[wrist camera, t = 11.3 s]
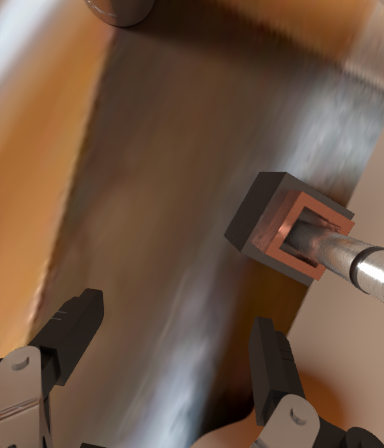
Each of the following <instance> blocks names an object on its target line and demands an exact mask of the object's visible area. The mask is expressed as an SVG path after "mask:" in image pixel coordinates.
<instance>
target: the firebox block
mask: <svg viewBox="0 0 384 448" xmlns="http://www.w3.org/2000/svg"><path fill="white" fill-rule="evenodd" d="M353 216H354V213H352V212H351V211H349V210H347V209H346V208H344V207H343V206H341V205H339V204H338V203H336V202H334V201H333V200H331V199H330V198H328V197H326V196H325V195H323V194H321V193H320V192H318V191H317V190H315V189H313V188H312V187H310V186H308V185H307V184H305V183H304V182H302V181H300V180H299V179H297V178H295V177H294V176H292V175H291V174H289V173H287V172H259V174H258V176H257V178H256V179H255V181H254V183H253V185H252V186H251V188H250V190H249V192H248V194H247V195H246V197H245V199H244V201H243V202H242V204H241V206H240V208H239V210H238V211H237V213H236V215H235V217H234V218H233V220H232V222H231V224H230V225H229V227H228V229H227V231H226V233H225V234H224V236H225V237H226V238H227V239H228V240H229V241H230V242H231V243H232V244H233V245H234V246H235V247H236V248H237V249H238V250H239V251H240V252H241V253H243V254H245V255H247V256H249V257H251V258H253V259H255V260H257V261H259V262H261V263H263V264H265V265H267V266H269V267H271V268H273V269H275V270H277V271H279V272H281V273H283V274H285V275H287V276H289V277H291V278H293V279H295V280H297V281H299V282H301V283H303V284H305V285H307V286H310V284H311V282H312V281H313V279H316V280H318V281H319V279H320V277H321V276H322V274H323V273H324V271H325V270H326V267H324V266H322V265H321V264H319V263H317V262H316V261H314V260H312V259H311V258H309V257H307V256H306V255H304V254H302V253H301V252H299V251H297V250H296V249H294V248H292V247H291V246H289V245H288V244H287V243H286V241H285V238H286V236H287V234H288V233H289V231H290V229H291V228H292V226H293V224H294V223H295V221H296V220H304V221H306V222H309V223H312V224H315V225H318V226H320V227H323V228H326V229H329V230H332V231H334V232H337V233H340V234H343V235H345V236H347V235H348V233H349V232H350V230H351V229H352V227H353V226H354V224H355V223H354V222H352V221H351V219H352V218H353Z"/></svg>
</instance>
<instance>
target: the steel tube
mask: <svg viewBox="0 0 384 448" xmlns="http://www.w3.org/2000/svg"><path fill="white" fill-rule="evenodd" d="M285 241H286V243H287V244H288V245H289V246H291V247H292V248H294V249H296V250H297V251H299V252H301V253H302V254H304V255H306V256H307V257H309V258H311V259H312V260H314V261H316V262H317V263H319V264H321V265H322V266H324V267H326V268H327V269H329V270H331V271H332V272H334V273H336V274H337V275H339V276H340V277H342V278H344V279H345V280H347V281H349V282H350V283H352V284H353V285H354V286H355V287H356V288H358V289H360V290H361V291H363V292H364V293H367V294H370V295H372V296H373V297H375V298H377V299H378V300H380V301H382V302H383V303H384V248H383V247H378V246H373V245H371V244H368V243H365V242H362V241H359V240H357V239H354V238H351V237H348V236H345V235H343V234H340V233H337V232H334V231H332V230H329V229H326V228H323V227H320V226H318V225H315V224H312V223H309V222H306V221H304V220H296V221H295V223H294V224H293V226H292V228H291V229H290V231H289V233H288V234H287V236H286V238H285Z"/></svg>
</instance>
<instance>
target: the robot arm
mask: <svg viewBox="0 0 384 448" xmlns="http://www.w3.org/2000/svg"><path fill="white" fill-rule="evenodd" d="M84 1H85V2H86V4H87V6H88V7H89V8H90V10H91V11H92V12H93V13H94V14H95V15H96V16H97V17H99V18H100V19H101V20H103V21H104V22H106V23H108V24H111V25H115V26H122V27H126V26H131V25H134V24H136V23H138V22H140V21H142V20H143V19H144V18H145V17H146V16H147V15H148V13H149V12H150V11H151V9H152V7H153V4H154V2H155V0H84ZM103 317H104V304H103V292H102V291H101V290H96V289H90V288H87V289H85V290H84V292H83V293H82V294H81V295H80V297H73V298H71V299H70V300H68V301H67V302H65V303H64V304H63V305H62V307H61V308H60V309H59V310H58V312H56V313H55V315H54V316H53V317H52V319H50V320H49V321H48V323H47V324H46V325H45V326H44V327H43V328H42V329H41V331H40V332H39V333H38V334H37V335H36V336H35V338H34V339H33V340H32V341H31V342H30V343H29V344H28V345H27V346H24V347H20V348H18V349H15V350H13V351H12V352H10V353H9V354H8V355H6V356H5V357H4V358H0V448H53V443H52V427H51V408H50V391H51V390H52V388H53V387H54V385H59V386H64V385H65V383H66V382H67V380H68V378H69V377H70V375H71V373H72V372H73V370H74V368H75V367H76V365H77V363H78V362H79V360H80V358H81V357H82V355H83V353H84V352H85V350H86V348H87V347H88V345H89V343H90V342H91V340H92V338H93V337H94V335H95V333H96V332H97V330H98V328H99V327H100V325H101V323H102V320H103ZM249 358H250V367H251V376H252V385H253V395H254V404H255V412H256V422H257V425H258V426H264V429H263V431H262V432H261V434H260V436H259V437H258V439H257V440H256V441H254V442H253V444H252V445H251V447H250V448H384V444H383V443H382V442H381V441H380V440H379V439H378V438H377V437H376V436H375V435H373V434H372V433H370V432H369V431H367V430H365V429H363V428H359V427H352V428H350V429H348V431H347V432H346V431H344V430H342V429H340V428H338V427H336V426H334V425H332V424H331V423H329V422H327V421H325V420H324V419H322V418H321V417H319V415H317V413H316V411H315V409H314V408H313V407H312V405H311V404H310V403H309V402H307V400H306V398H305V395H304V391H303V388H302V385H301V381H300V378H299V375H298V371H297V368H296V365H295V363H294V358H293V354H292V351H291V347H290V344H289V341H288V340H287V338H286V337H285V335H284V334H283V333H282V332H280V331H275V330H274V326H273V321H272V319H269V318H263V317H257V316H256V317H255V320H254V324H253V327H252V331H251V335H250V338H249ZM80 448H105V447H101V446H96V445H91V444H86V443H82V444H81V447H80Z"/></svg>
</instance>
